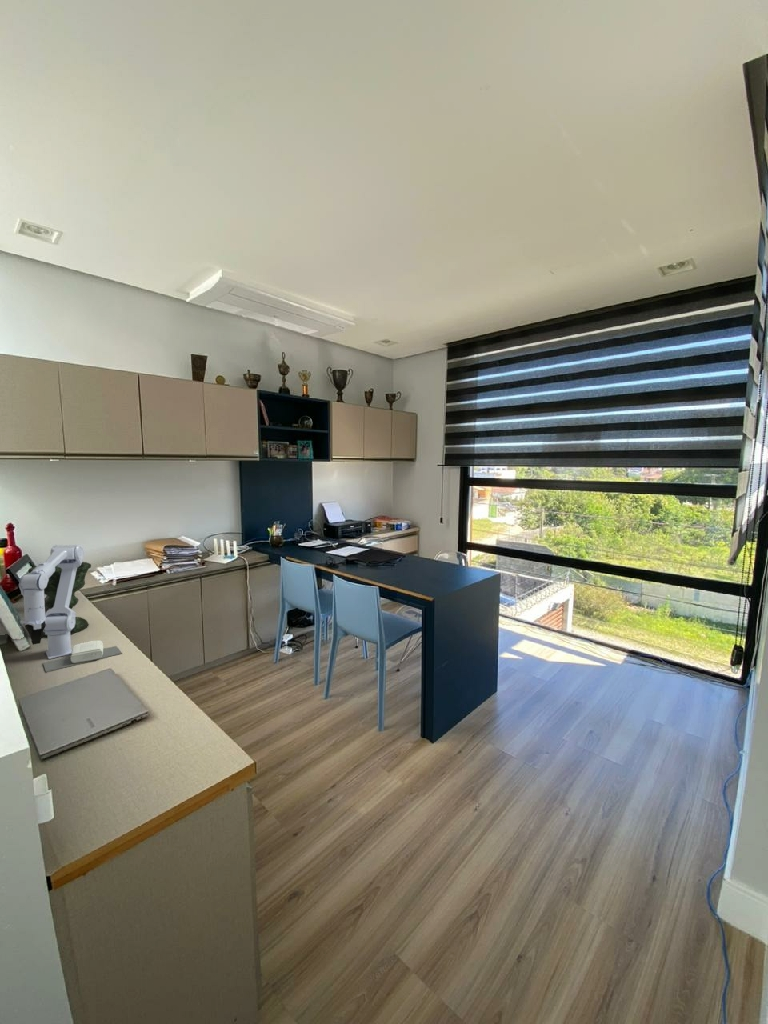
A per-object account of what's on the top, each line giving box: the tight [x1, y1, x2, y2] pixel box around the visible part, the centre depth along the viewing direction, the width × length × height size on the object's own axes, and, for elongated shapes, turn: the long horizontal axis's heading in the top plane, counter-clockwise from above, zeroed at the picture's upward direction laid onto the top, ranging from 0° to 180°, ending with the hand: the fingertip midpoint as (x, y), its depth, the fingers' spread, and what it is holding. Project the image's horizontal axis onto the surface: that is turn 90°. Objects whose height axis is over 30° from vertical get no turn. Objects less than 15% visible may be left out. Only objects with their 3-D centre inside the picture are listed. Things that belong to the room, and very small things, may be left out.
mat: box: [42, 645, 123, 673], centre depth 164 cm, size 10×24×1 cm, turn 135°
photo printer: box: [70, 640, 104, 663], centre depth 165 cm, size 10×4×12 cm
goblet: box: [27, 561, 92, 638], centre depth 191 cm, size 22×23×30 cm
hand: (36, 643), depth 152 cm, fingers closed
